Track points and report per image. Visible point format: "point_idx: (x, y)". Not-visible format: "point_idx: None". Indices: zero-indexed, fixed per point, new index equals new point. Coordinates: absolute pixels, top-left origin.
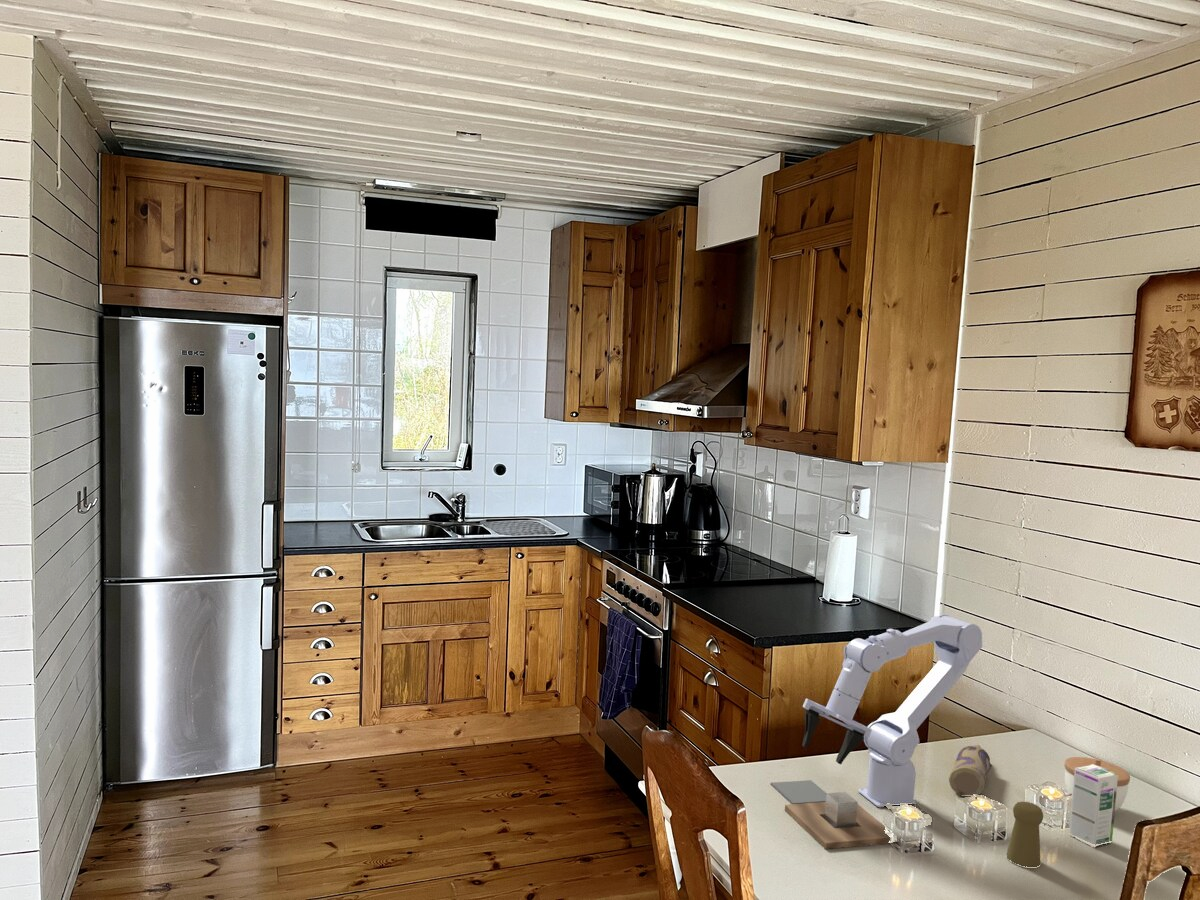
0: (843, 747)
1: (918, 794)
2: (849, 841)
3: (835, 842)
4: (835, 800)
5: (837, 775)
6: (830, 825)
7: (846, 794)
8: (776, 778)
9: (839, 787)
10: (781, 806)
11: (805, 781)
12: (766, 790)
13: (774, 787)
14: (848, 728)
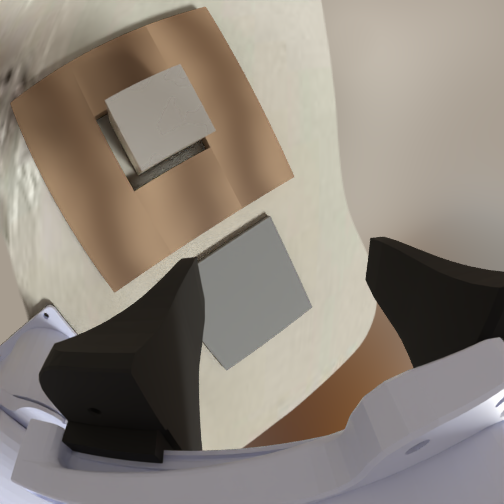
0: (191, 343)
1: None
2: (143, 26)
3: (181, 13)
4: (188, 81)
5: None
6: None
7: (140, 149)
8: (296, 342)
9: None
10: (292, 197)
11: (238, 357)
12: (319, 270)
13: (304, 292)
14: (211, 450)
